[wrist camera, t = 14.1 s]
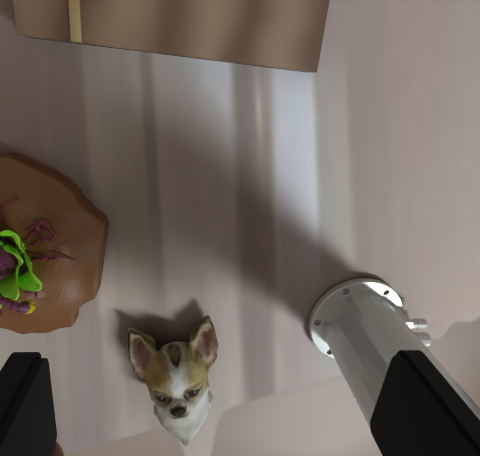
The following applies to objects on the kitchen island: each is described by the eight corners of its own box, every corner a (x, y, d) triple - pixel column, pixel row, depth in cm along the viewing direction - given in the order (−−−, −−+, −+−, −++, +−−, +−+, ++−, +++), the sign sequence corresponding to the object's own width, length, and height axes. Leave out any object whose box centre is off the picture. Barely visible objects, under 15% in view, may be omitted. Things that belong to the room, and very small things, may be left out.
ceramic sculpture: (140, 467, 42) (113, 363, 37) (147, 407, 50) (126, 315, 45) (232, 449, 43) (218, 345, 38) (224, 394, 51) (212, 302, 46)
